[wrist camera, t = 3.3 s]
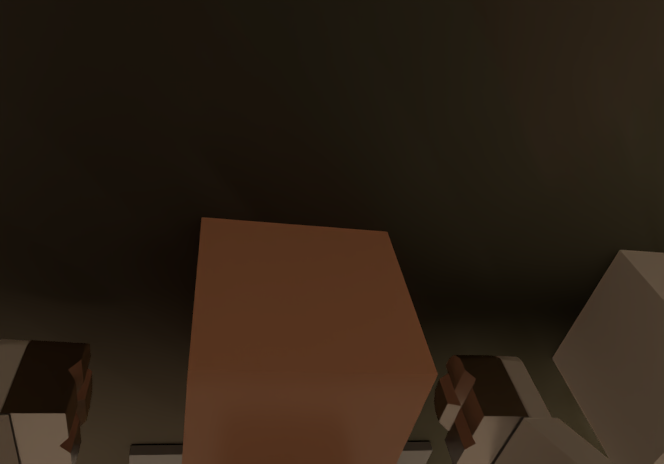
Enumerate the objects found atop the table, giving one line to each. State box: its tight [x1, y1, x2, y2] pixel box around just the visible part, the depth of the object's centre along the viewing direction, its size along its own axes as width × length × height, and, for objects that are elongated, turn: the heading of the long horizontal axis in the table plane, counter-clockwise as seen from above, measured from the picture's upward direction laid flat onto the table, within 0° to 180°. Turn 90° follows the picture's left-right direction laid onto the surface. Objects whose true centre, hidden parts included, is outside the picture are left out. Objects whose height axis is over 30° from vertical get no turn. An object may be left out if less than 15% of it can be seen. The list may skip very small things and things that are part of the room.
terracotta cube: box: [182, 217, 438, 464], centre depth 11 cm, size 4×4×4 cm
